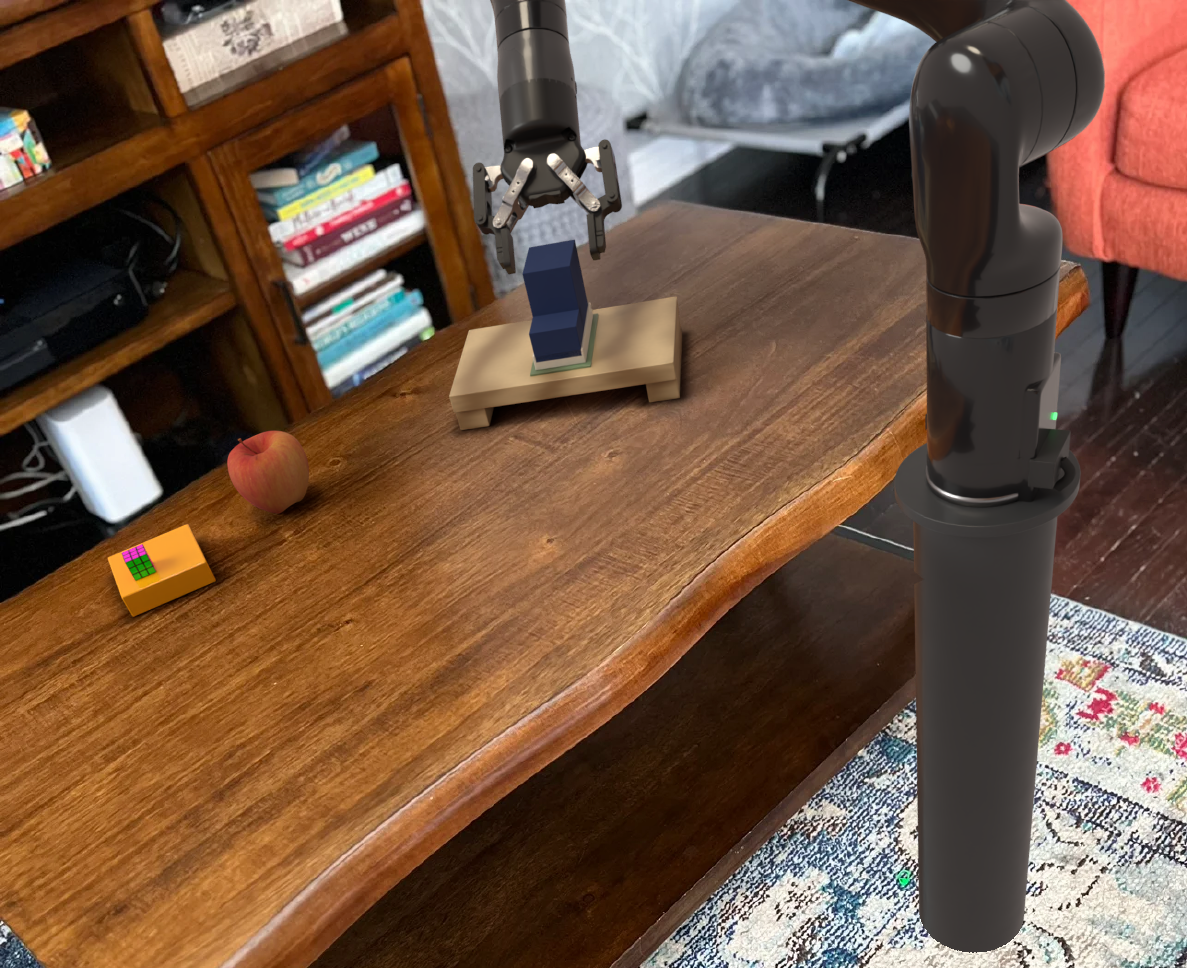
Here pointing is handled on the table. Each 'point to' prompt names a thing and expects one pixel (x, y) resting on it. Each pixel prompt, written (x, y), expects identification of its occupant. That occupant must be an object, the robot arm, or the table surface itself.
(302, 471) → the apple
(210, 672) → the table surface
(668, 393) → the shoe shelf
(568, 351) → the trainer
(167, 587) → the orange rectangular box
